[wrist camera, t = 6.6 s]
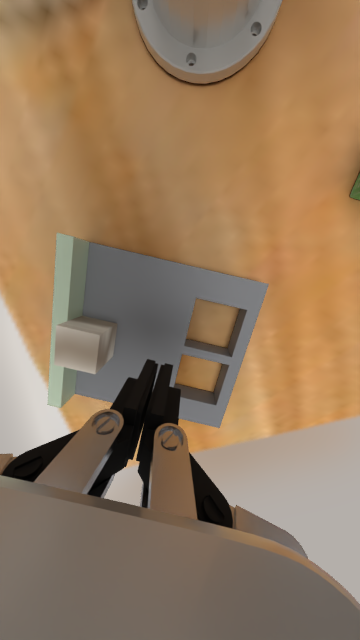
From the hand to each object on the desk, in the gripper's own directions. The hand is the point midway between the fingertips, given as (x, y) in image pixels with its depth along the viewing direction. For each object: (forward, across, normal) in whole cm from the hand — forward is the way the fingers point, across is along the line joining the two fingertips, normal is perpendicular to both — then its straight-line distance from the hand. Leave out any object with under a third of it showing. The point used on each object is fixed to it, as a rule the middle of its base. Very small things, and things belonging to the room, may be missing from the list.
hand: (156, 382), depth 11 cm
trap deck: (+11, +2, +2) cm, 12 cm away
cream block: (+9, +8, +3) cm, 12 cm away
